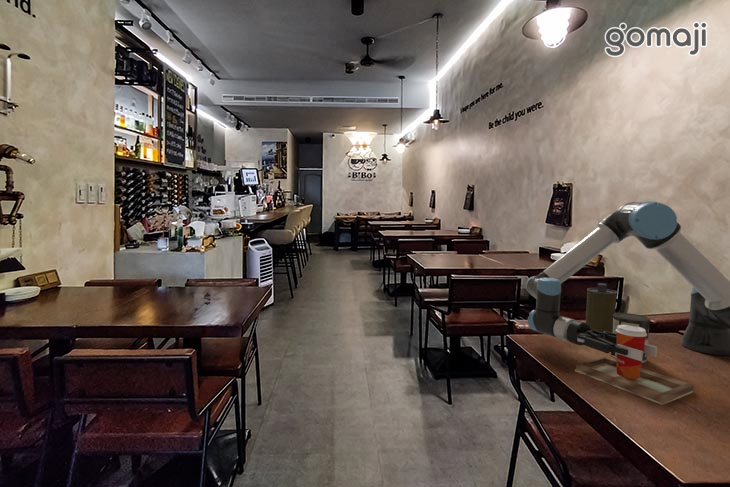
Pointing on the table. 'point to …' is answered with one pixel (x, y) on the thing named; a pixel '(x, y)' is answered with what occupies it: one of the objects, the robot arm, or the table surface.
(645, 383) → the seat pad
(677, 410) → the table surface
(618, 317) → the coffee can
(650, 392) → the keyhole slot
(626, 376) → the paper cup
